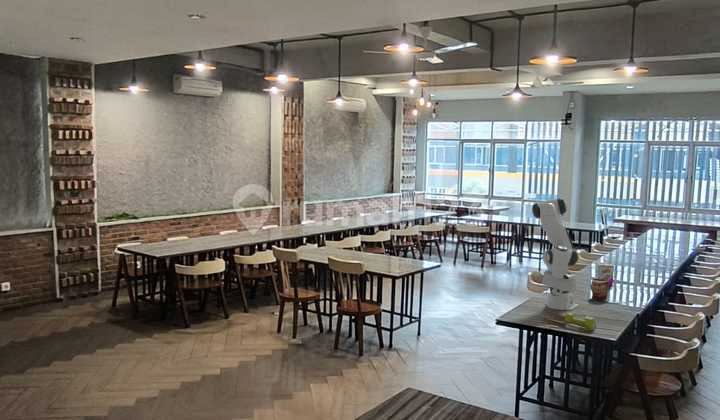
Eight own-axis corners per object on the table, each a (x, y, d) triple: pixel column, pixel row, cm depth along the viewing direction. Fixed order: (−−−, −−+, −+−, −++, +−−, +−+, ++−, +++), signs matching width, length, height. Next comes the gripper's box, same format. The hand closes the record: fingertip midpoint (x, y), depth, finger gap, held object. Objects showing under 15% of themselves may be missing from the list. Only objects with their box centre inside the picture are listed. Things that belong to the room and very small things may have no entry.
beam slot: (555, 317, 356) (555, 313, 356) (595, 327, 337) (595, 323, 337) (542, 321, 347) (542, 317, 347) (583, 332, 328) (583, 327, 328)
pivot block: (585, 322, 346) (585, 316, 345) (590, 324, 344) (590, 317, 343) (582, 323, 344) (583, 316, 343) (587, 325, 342) (587, 318, 341)
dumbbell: (562, 326, 340) (563, 314, 339) (569, 323, 345) (569, 311, 344) (590, 332, 328) (591, 320, 327) (596, 329, 333) (597, 317, 333)
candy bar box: (597, 285, 446) (598, 264, 444) (596, 284, 451) (597, 263, 449) (613, 286, 442) (614, 265, 441) (612, 285, 447) (613, 264, 446)
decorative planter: (592, 294, 416) (593, 275, 415) (610, 297, 410) (611, 277, 409) (587, 300, 399) (588, 281, 397) (606, 303, 393) (607, 283, 391)
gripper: (541, 270, 351) (539, 292, 353) (572, 278, 336) (570, 301, 338) (546, 269, 355) (545, 290, 357) (578, 276, 340) (576, 299, 342)
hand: (557, 295), depth 347 cm, fingers closed
